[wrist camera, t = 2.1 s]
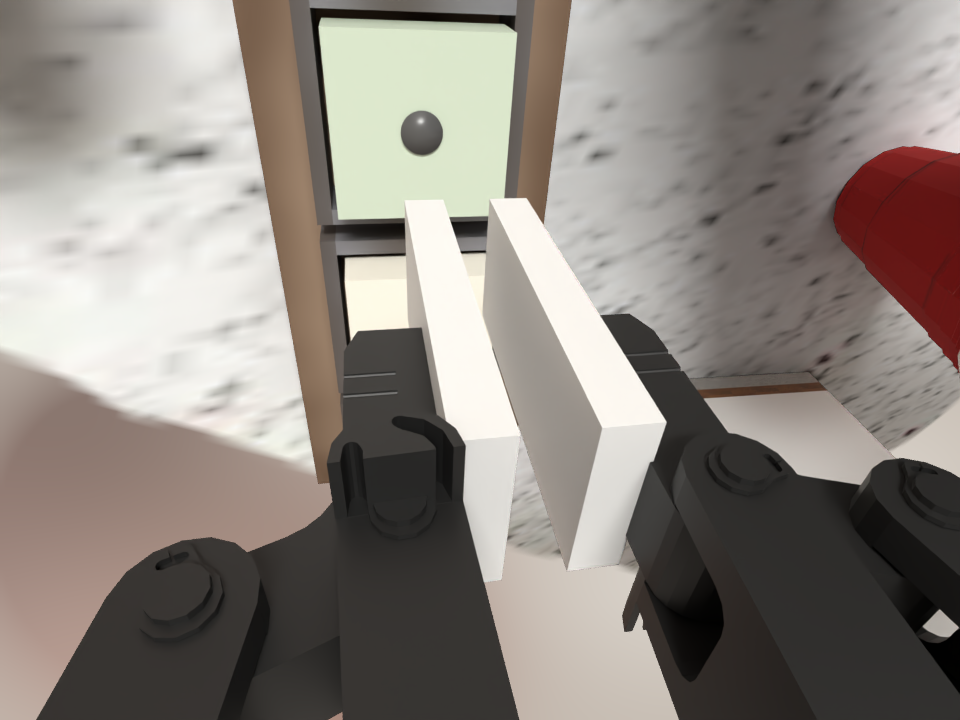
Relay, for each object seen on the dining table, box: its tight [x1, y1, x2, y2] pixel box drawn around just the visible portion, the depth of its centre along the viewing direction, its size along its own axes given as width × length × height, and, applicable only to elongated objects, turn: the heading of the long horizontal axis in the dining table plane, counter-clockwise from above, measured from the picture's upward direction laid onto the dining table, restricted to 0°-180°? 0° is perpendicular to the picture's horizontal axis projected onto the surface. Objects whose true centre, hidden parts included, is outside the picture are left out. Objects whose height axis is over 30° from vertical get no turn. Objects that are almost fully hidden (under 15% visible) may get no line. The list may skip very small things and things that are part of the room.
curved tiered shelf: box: [689, 372, 959, 637], centre depth 29 cm, size 11×11×35 cm
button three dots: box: [345, 252, 492, 347], centre depth 25 cm, size 6×6×2 cm
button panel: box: [233, 0, 572, 484], centre depth 28 cm, size 12×26×6 cm, turn 177°
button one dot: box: [319, 17, 517, 220], centre depth 20 cm, size 6×6×2 cm
